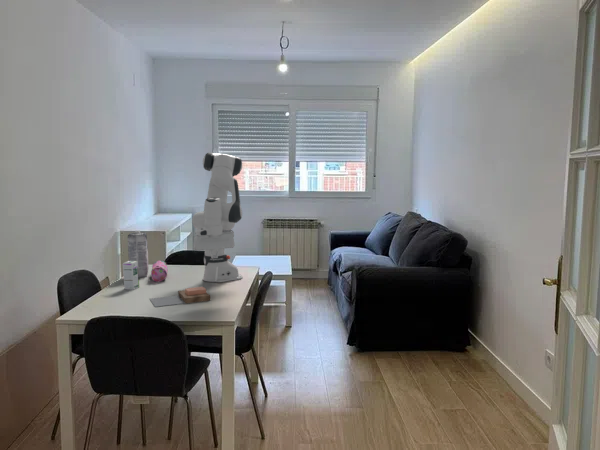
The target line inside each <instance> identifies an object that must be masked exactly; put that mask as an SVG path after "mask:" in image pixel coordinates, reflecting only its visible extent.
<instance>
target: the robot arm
mask: <svg viewBox="0 0 600 450" xmlns="http://www.w3.org/2000/svg"><path fill="white" fill-rule="evenodd" d="M202 166H203V169H204V170H206V171H208V172H211V175H210V176H211V177H210V180H209V183H208V191H207V198H206V199H205V200H204V203H203V204H204V206H203V211H198V212H195V213H194V214H193V216H192V219H191V223H192V226H193V227H194V228H195V231H194V233H195V235H194V237H193V243H192V244H193V245H192V247H193V250H195V251H196V252H197V251H198V252H200V251H204V255H203V263H204V273H203V277H202V280H203V281H205V282H209V283H210V282H211V283H224V282H231V281H237V280H242V279H243V275H242V274H240V273H239V270H238V269H239V268H238V266H236V265H235V264H234V263H232V262H230V261H229V260H230V259H231V256H230V255H229V254H228V255H227V254H225V249H233V248H234V247H235V239H234V237H235V232H234V230H233V228H234V227H235V224H237V223H238V222H240V221H241V219H242V218H243V209H242V205H241V196H240V189H239V183H238V180H237V179H236V178H235V177H236V176H238V175H239V174H240V173H241V172H242V169H243V161H242V159H241V157H238V156H234V155H231V154H228V153H218V152H217V153H216V152H211V151H210V152H206V153H205V154H204V155H203V158H202ZM229 192H230V194H231V202H229V203H228V194H229Z"/></svg>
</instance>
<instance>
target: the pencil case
mask: <svg viewBox="0 0 600 450" xmlns="http://www.w3.org/2000/svg"><path fill="white" fill-rule="evenodd" d="M151 267H152V269H151V272H150V276H151V278H152V280H153V281H154V282H156V283H158V282H159V283H160V282H162V281H164V280H165V279H166V278H167V277H168V272H169V271H168V265H167V262H166V261H163V260H156V261H154V263H153V264H152V266H151Z"/></svg>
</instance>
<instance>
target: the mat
mask: <svg viewBox="0 0 600 450" xmlns="http://www.w3.org/2000/svg"><path fill="white" fill-rule="evenodd" d="M149 300H150V302H151V303H152V305H153V307H155V308H160V307H168V306H174V305H175V306H177V305H182V304H183V305H184V304H186V303H185V302H184V301H183V300H182V299H181V298H180V297H179V295H178V294H177V295H171V296H162V297H152V298H149Z"/></svg>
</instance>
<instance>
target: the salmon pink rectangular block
mask: <svg viewBox="0 0 600 450" xmlns="http://www.w3.org/2000/svg"><path fill="white" fill-rule="evenodd" d="M184 290H185V293H186V294H187V295H195V294H204V293H206V292H207V288H206V287H204V286H197V287H190V288H189V287H188V288H185V289H184Z"/></svg>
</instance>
